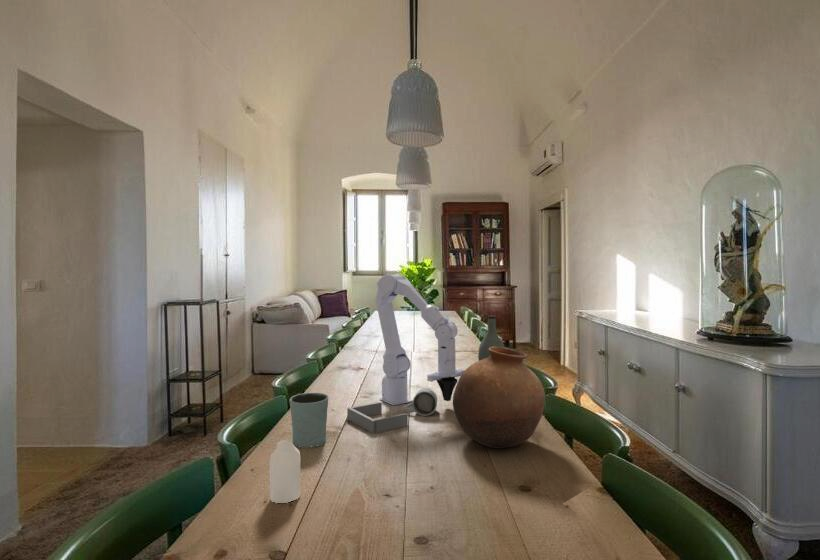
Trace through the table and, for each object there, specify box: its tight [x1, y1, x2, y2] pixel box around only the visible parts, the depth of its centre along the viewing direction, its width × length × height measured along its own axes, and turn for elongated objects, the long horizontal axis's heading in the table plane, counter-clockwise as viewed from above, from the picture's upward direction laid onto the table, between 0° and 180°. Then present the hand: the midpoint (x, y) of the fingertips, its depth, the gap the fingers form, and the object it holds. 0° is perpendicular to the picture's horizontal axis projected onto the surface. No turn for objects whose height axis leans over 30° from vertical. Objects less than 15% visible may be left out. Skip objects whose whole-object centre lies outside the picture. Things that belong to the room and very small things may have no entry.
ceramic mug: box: [403, 387, 438, 417], centre depth 154 cm, size 11×8×8 cm
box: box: [346, 401, 409, 434], centre depth 144 cm, size 16×12×4 cm
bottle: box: [477, 314, 506, 361], centre depth 160 cm, size 9×9×30 cm
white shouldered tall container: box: [269, 439, 302, 504], centre depth 97 cm, size 6×12×6 cm
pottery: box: [452, 347, 546, 449], centre depth 125 cm, size 23×23×25 cm
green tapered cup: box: [289, 392, 329, 448], centre depth 128 cm, size 10×10×12 cm
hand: (447, 400), depth 159 cm, fingers closed
